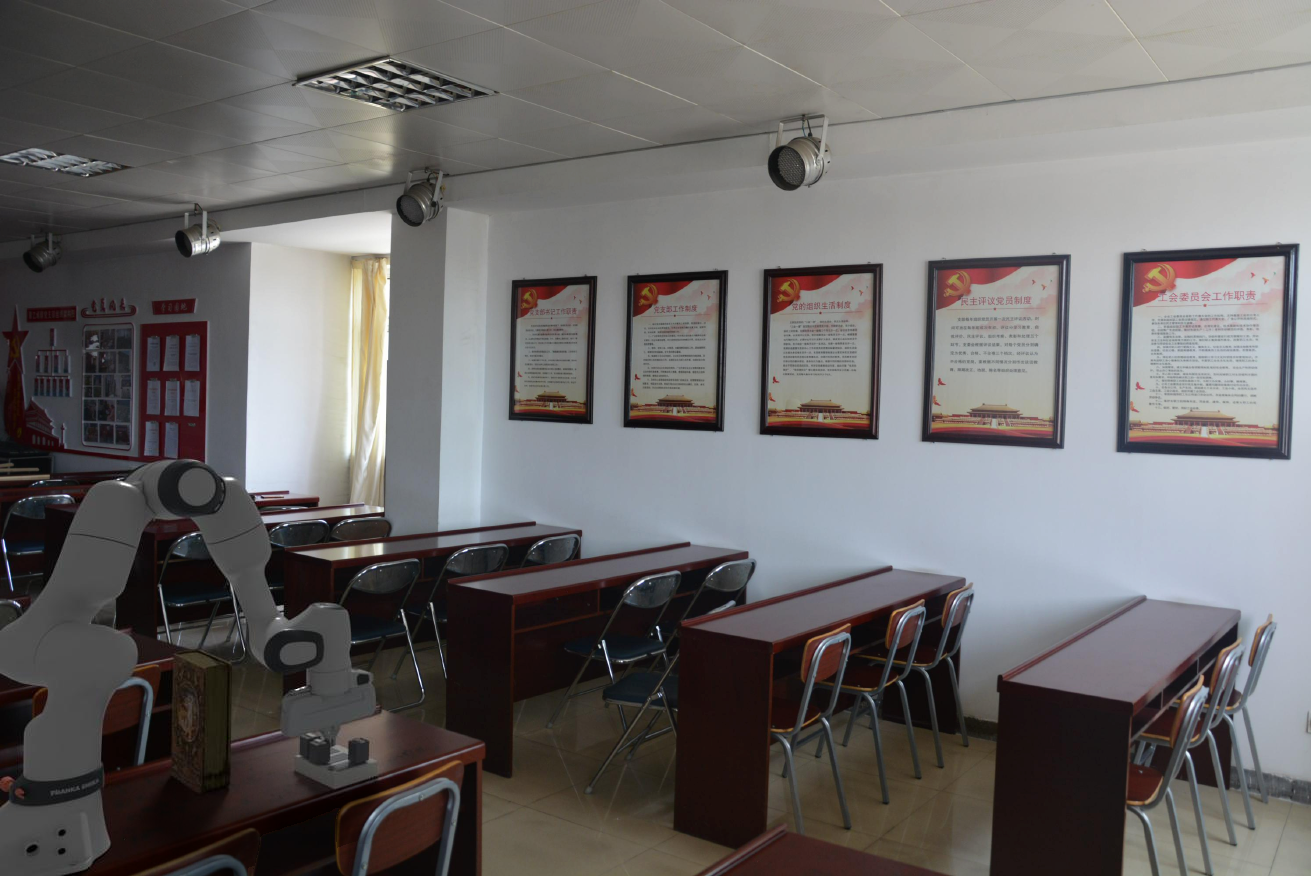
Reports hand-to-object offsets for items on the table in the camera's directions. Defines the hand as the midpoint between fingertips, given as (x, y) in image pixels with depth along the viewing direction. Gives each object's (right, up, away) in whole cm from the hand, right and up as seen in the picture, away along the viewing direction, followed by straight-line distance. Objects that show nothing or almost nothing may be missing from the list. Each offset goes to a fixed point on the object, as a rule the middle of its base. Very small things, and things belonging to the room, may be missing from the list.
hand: (329, 746), depth 197 cm
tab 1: (-5, -2, +2) cm, 6 cm away
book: (-25, -6, -5) cm, 26 cm away
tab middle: (-2, -3, -2) cm, 3 cm away
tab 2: (+6, -3, 0) cm, 7 cm away
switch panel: (+1, -6, +1) cm, 6 cm away
